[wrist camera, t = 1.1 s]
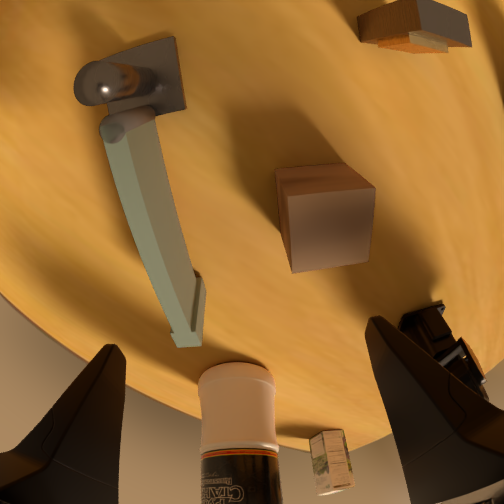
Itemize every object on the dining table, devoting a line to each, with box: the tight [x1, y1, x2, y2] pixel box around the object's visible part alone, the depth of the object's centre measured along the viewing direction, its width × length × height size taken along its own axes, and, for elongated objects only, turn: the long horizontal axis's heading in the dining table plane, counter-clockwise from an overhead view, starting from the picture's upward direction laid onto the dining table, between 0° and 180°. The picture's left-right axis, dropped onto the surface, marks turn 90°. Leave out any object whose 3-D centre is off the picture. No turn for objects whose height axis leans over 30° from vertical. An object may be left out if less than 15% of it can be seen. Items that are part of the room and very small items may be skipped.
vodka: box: [198, 362, 283, 504], centre depth 19 cm, size 9×9×30 cm
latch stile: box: [357, 0, 472, 54], centre depth 10 cm, size 2×4×7 cm
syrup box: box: [309, 430, 355, 495], centre depth 43 cm, size 6×6×14 cm
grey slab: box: [99, 105, 206, 348], centre depth 17 cm, size 15×2×6 cm, turn 7°
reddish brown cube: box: [275, 163, 376, 274], centre depth 17 cm, size 5×5×5 cm
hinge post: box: [74, 36, 187, 116], centre depth 11 cm, size 5×5×7 cm
